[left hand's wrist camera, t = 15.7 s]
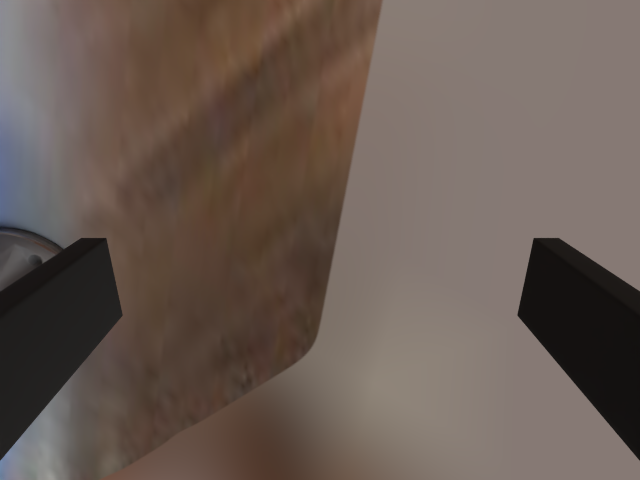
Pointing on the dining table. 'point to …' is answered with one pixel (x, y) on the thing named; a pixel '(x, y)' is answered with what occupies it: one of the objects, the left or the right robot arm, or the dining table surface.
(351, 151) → the dining table surface
